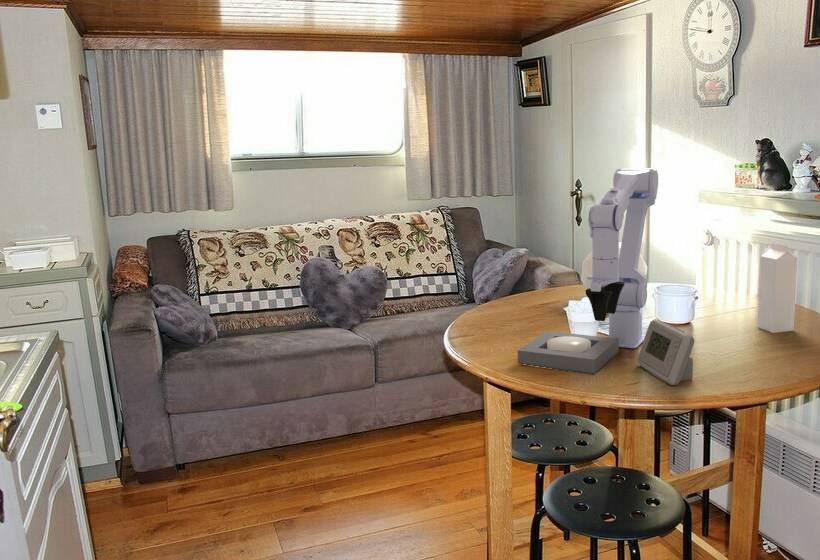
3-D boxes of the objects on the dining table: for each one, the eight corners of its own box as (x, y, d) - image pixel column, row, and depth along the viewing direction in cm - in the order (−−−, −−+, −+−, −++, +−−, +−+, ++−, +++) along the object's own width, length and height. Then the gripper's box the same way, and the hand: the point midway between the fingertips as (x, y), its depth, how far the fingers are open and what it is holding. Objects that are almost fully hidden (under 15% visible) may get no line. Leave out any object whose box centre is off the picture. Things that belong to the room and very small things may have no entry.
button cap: (556, 347, 176) (556, 334, 176) (596, 352, 171) (596, 338, 170) (540, 358, 168) (540, 345, 167) (582, 363, 163) (582, 350, 162)
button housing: (547, 344, 182) (546, 331, 181) (618, 352, 172) (618, 338, 172) (517, 364, 167) (517, 350, 166) (594, 374, 157) (594, 359, 157)
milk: (772, 333, 182) (776, 246, 178) (756, 327, 188) (760, 243, 183) (794, 330, 183) (798, 244, 179) (777, 325, 189) (781, 241, 185)
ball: (630, 326, 220) (657, 282, 206) (567, 304, 222) (590, 258, 207) (634, 285, 233) (661, 241, 219) (575, 265, 235) (597, 219, 221)
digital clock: (634, 364, 163) (635, 318, 161) (675, 362, 163) (676, 317, 161) (655, 388, 148) (656, 338, 146) (700, 387, 147) (701, 336, 145)
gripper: (598, 252, 170) (597, 308, 173) (577, 262, 158) (577, 322, 161) (628, 253, 167) (627, 311, 169) (609, 263, 155) (608, 325, 157)
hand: (605, 316), depth 165 cm, fingers open, 7 cm apart
